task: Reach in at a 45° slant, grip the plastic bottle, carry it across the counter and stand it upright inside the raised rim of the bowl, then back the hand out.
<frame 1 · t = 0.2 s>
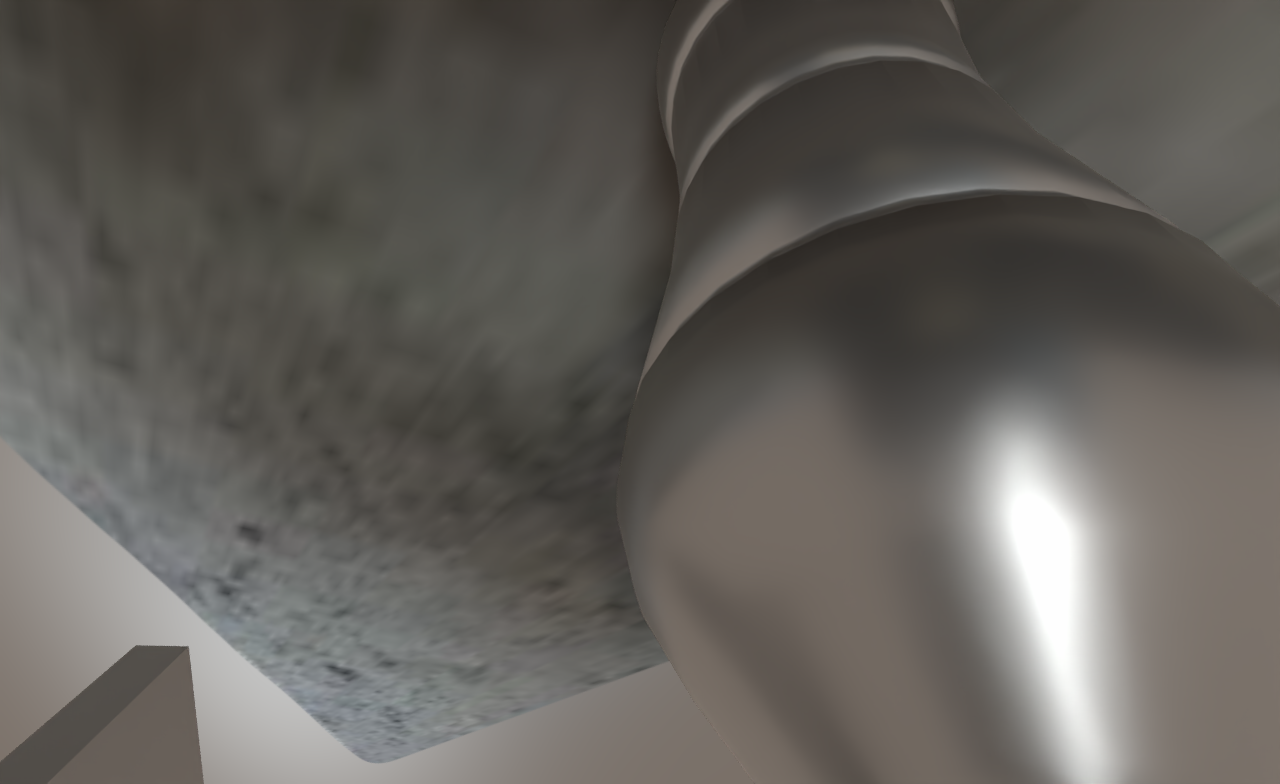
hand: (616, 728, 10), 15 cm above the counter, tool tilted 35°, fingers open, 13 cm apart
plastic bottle: (784, 34, 17), on the counter
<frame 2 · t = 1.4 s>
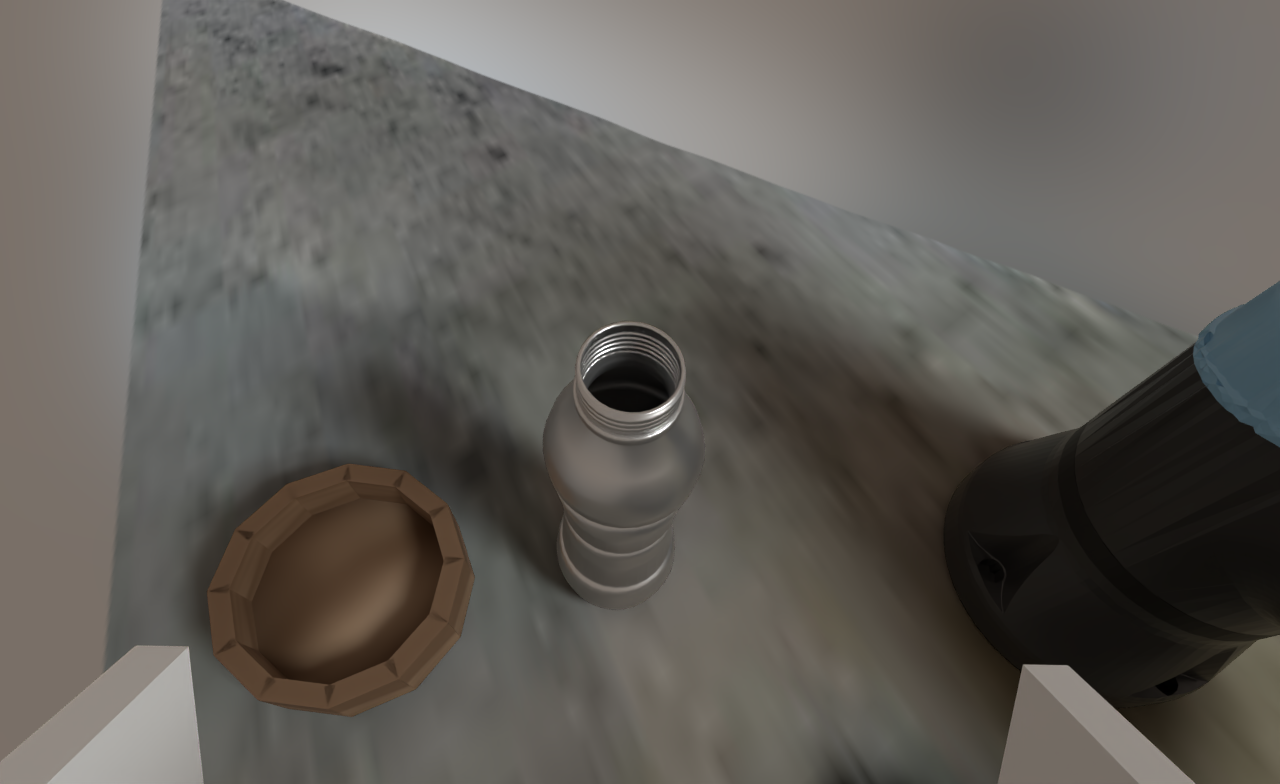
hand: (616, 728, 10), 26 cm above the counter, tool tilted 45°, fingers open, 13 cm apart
bowl: (359, 592, 36), on the counter
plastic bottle: (614, 559, 38), on the counter
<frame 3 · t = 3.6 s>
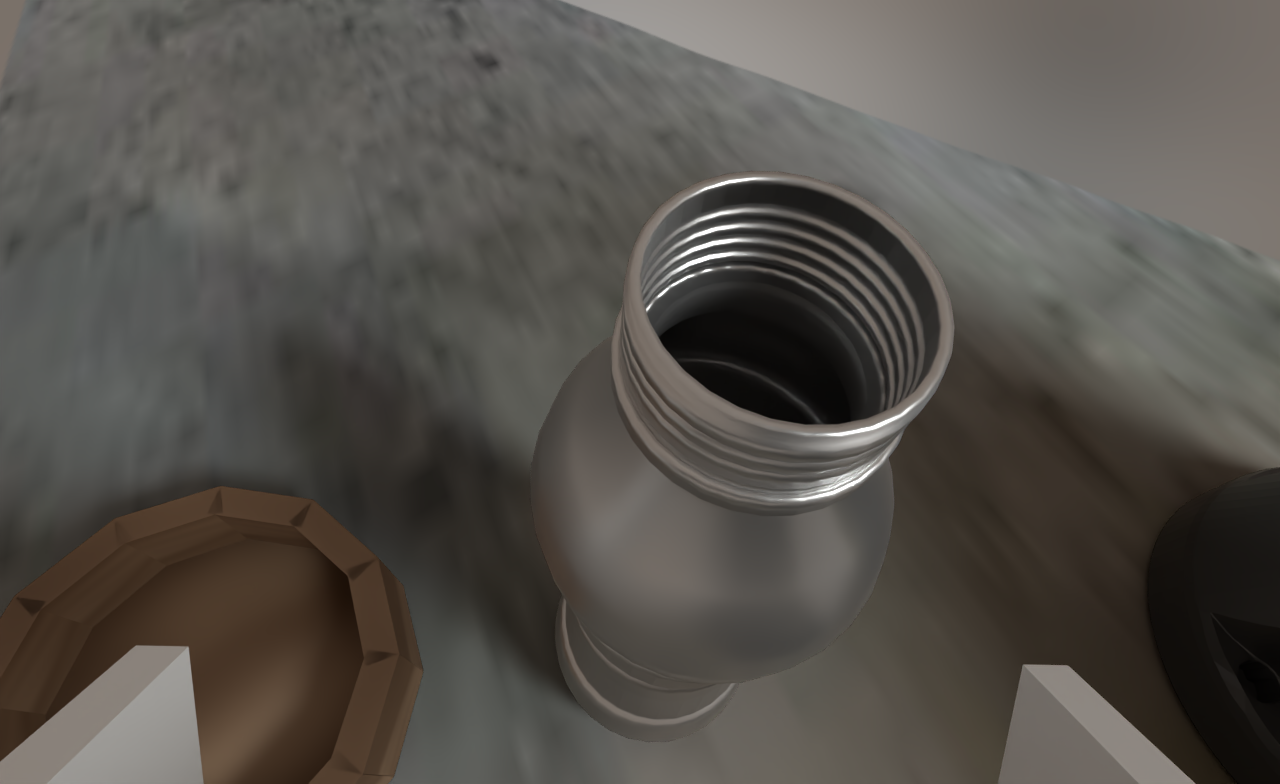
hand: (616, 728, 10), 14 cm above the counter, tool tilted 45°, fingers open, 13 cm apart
bowl: (234, 695, 22), on the counter
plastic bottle: (645, 643, 24), on the counter
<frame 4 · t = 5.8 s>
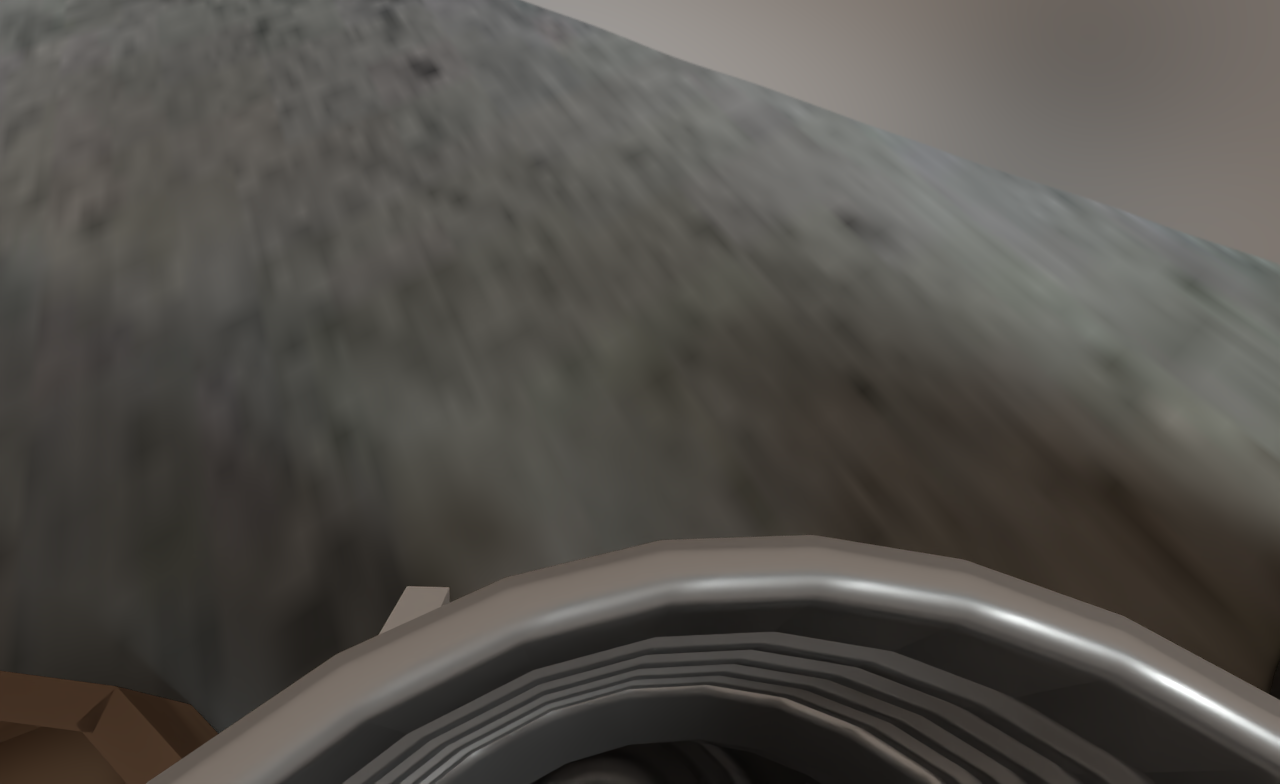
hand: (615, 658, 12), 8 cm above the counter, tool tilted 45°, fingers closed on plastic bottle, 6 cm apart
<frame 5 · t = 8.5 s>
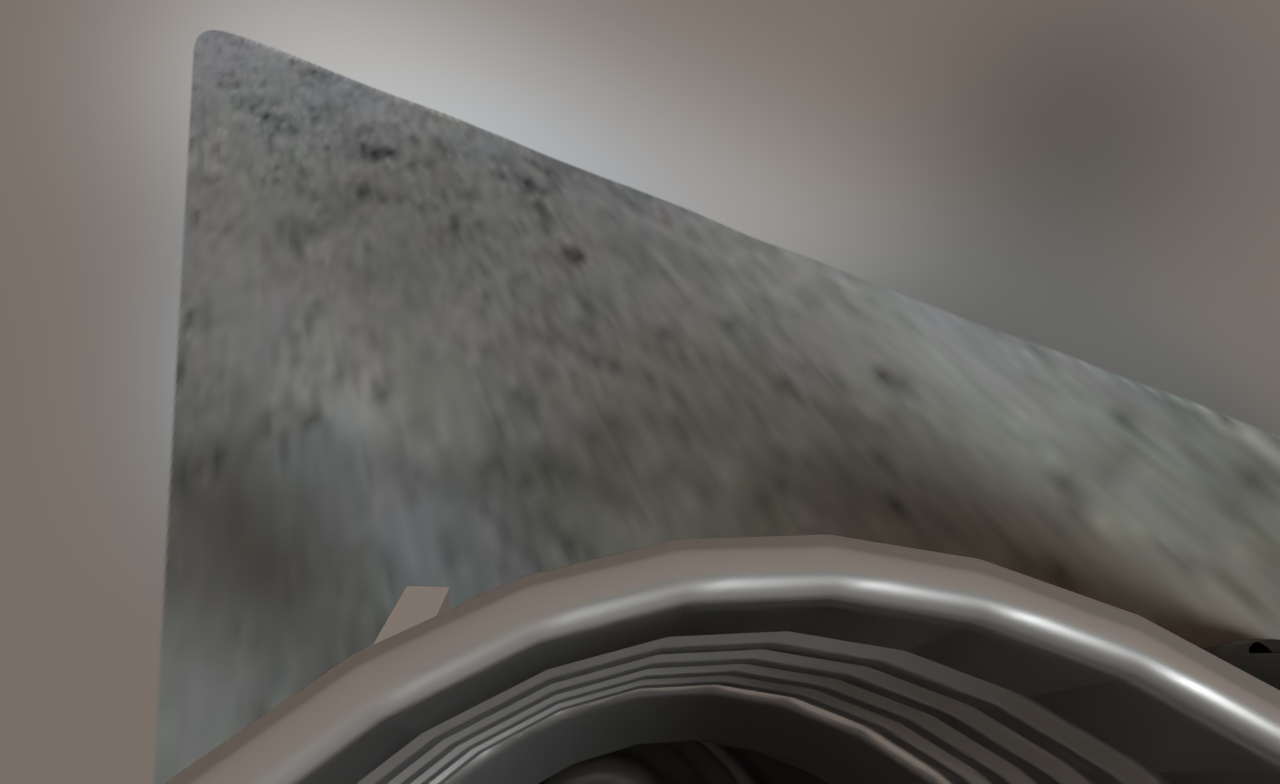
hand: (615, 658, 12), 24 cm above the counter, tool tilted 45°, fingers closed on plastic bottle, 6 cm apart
when the fingers open (11 cm above the counter, at t = 11.6 s): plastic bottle drops 1 cm, resting on bowl.
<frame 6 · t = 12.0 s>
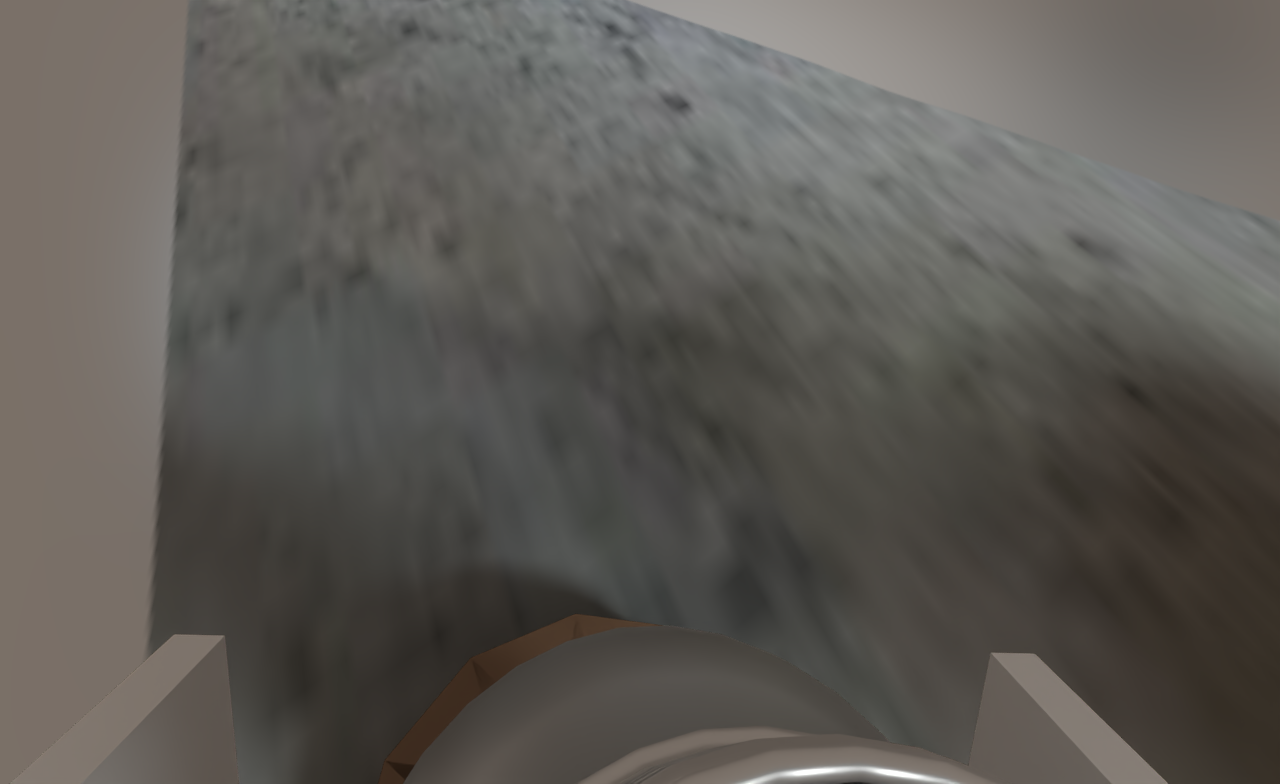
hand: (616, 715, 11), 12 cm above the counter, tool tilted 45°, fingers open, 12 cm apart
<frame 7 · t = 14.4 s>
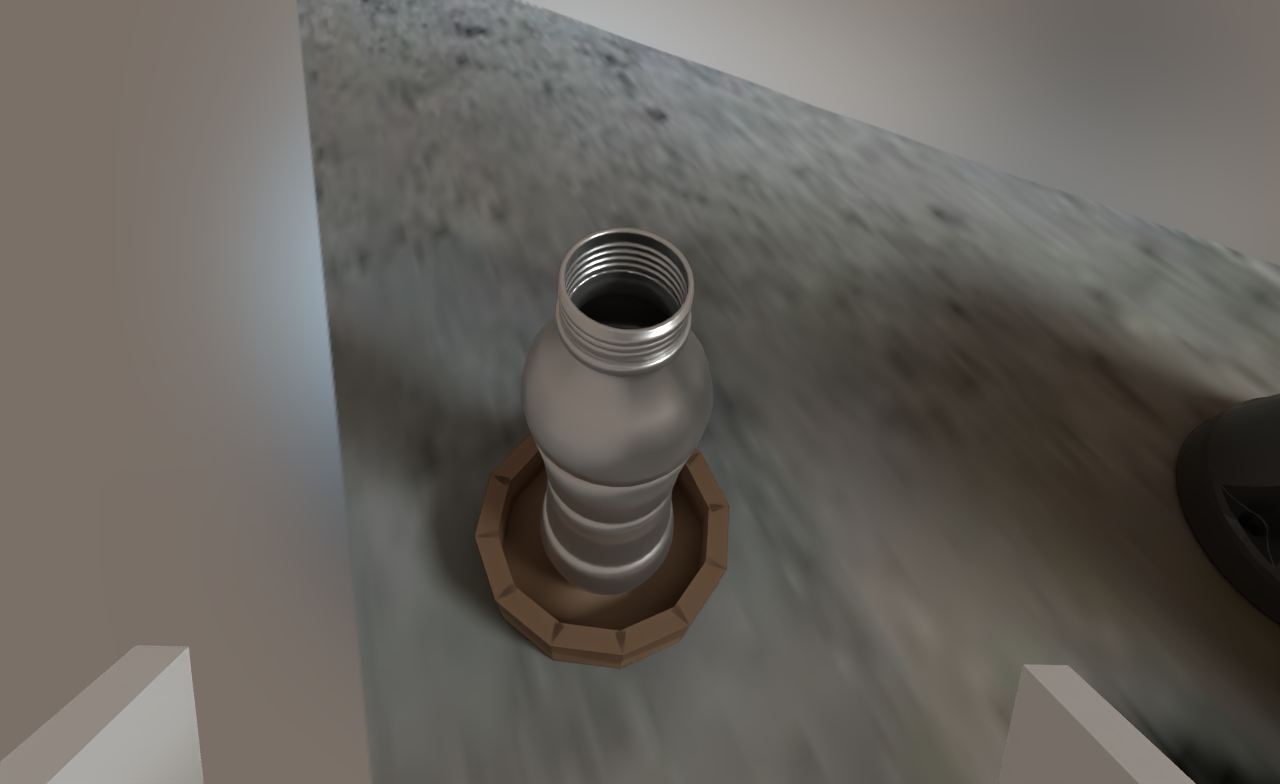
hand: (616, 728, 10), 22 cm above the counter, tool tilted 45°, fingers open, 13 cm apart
bowl: (603, 544, 35), on the counter
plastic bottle: (605, 541, 34), point 1 cm above the counter, touching bowl
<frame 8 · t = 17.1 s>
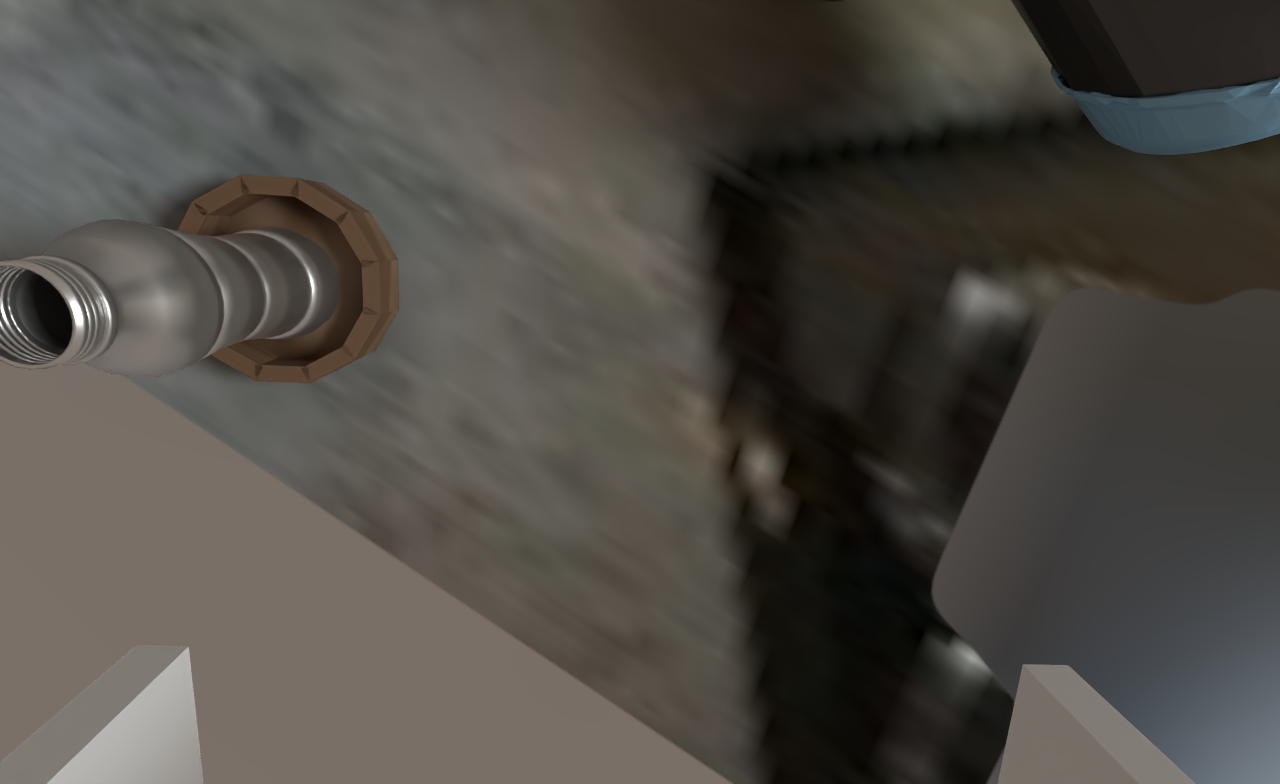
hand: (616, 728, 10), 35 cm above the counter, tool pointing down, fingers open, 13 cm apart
bowl: (303, 279, 42), on the counter
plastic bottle: (299, 280, 41), point 1 cm above the counter, touching bowl
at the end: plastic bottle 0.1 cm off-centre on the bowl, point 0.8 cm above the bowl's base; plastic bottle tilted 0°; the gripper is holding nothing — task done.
